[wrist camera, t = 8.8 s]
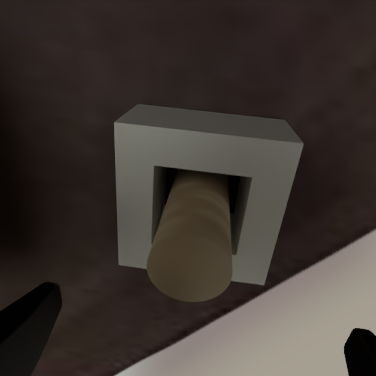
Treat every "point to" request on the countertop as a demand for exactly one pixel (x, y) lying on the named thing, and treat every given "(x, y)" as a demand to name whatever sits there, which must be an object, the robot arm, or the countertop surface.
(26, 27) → the countertop surface
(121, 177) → the socket block
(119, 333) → the countertop surface
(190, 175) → the peg
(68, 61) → the countertop surface
